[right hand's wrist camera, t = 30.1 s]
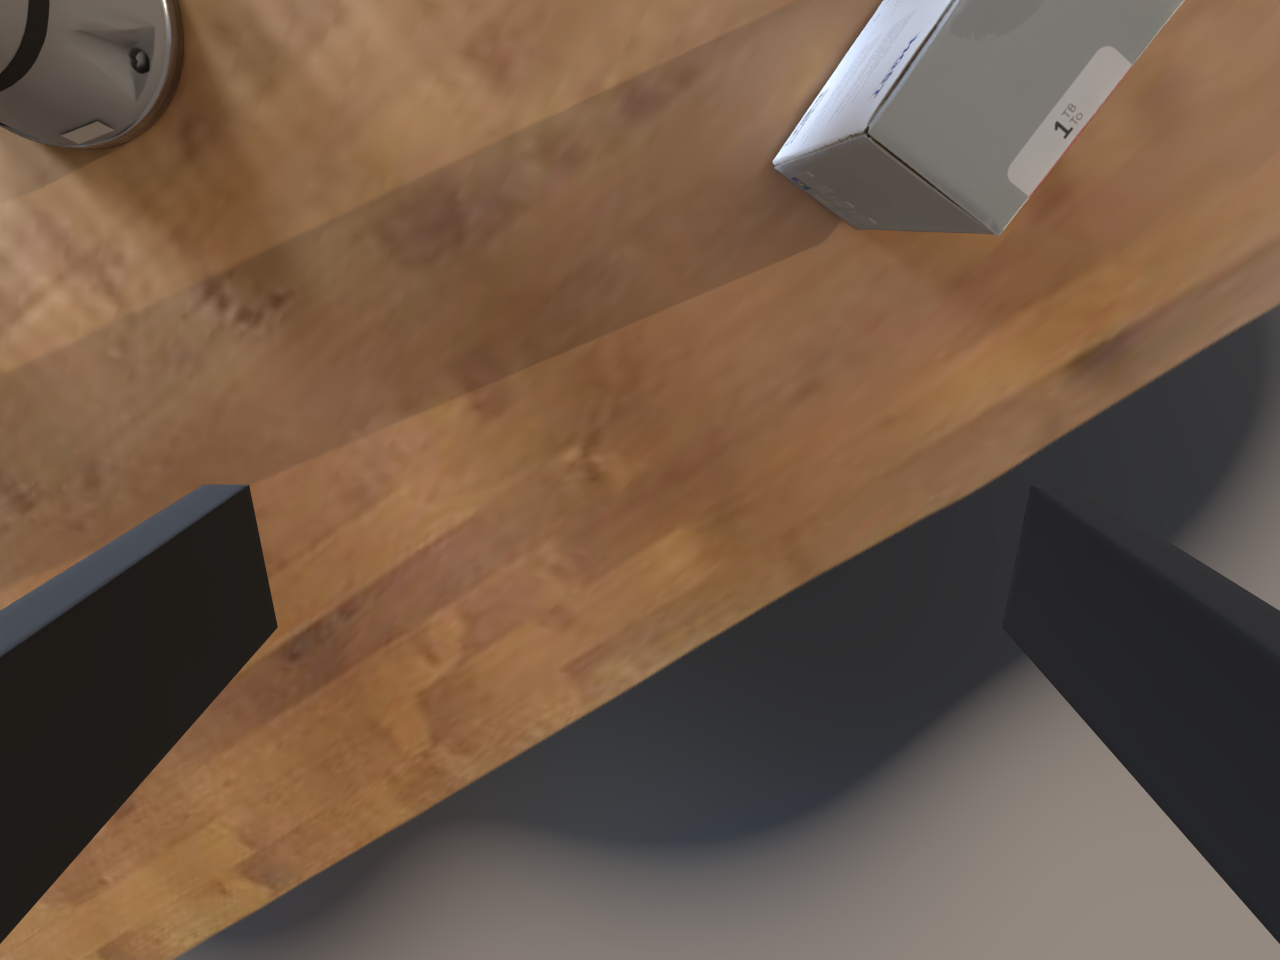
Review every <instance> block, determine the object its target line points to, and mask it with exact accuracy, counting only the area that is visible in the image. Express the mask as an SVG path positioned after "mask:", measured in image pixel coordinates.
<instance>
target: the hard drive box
mask: <svg viewBox="0 0 1280 960" xmlns="http://www.w3.org/2000/svg"><path fill="white" fill-rule="evenodd" d="M1184 1H1185V0H883V1H882V3H881V4H880V6H879V7H878V9H877V10H876V12H875V14H874V15H873V17H872V18H871V19H870V21H869V22H868V24H867V25H866V27H865V28H864V29H863V31H862V32H861V34H860V35H859V36H858V38H857V39H856V41H855V42H854V44H853V45H852V46H851V48H850V49H849V51H848V52H847V54H846V55H845V57H844V58H843V60H842V61H841V63H840V64H839V65H838V67H837V68H836V70H835V71H834V73H833V74H832V76H831V77H830V79H829V80H828V81H827V83H826V84H825V86H824V87H823V89H822V90H821V92H820V93H819V94H818V96H817V97H816V99H815V100H814V102H813V103H812V104H811V106H810V107H809V109H808V110H807V112H806V113H805V115H804V116H803V118H802V119H801V121H800V122H799V123H798V125H797V126H796V128H795V130H794V131H793V133H792V134H791V135H790V137H789V138H788V140H787V141H786V143H785V144H784V145H783V147H782V148H781V150H780V151H779V153H778V154H777V156H776V157H775V159H774V160H773V164H774V165H775V170H777V171H778V172H779V173H781V174H782V175H783V176H784V177H786V178H787V179H788V180H790V181H791V182H792V183H794V184H795V185H796V186H798V187H799V188H800V189H802V190H803V191H804V192H806V193H807V194H808V195H810V196H811V197H812V198H814V199H815V200H816V201H818V202H819V203H821V204H822V205H823V206H824V207H826V208H827V209H828V210H830V211H831V212H832V213H834V214H835V215H837V216H838V217H839V218H841V219H842V220H843V221H845V222H846V223H847V224H849V225H850V226H852V227H853V228H855V229H866V230H893V231H918V232H949V233H978V234H995V235H996V236H1000V235H1001V233H1002V232H1003V231H1004V229H1005V228H1006V227H1007V225H1008V224H1009V223H1010V222H1011V220H1012V219H1013V218H1014V216H1015V215H1016V214H1017V213H1018V211H1019V210H1020V209H1021V207H1022V206H1023V205H1024V204H1025V202H1026V201H1027V200H1028V199H1029V198H1030V197H1031V195H1032V194H1033V193H1034V192H1035V190H1036V189H1037V188H1038V187H1039V185H1040V184H1041V183H1042V182H1043V180H1044V179H1045V178H1046V176H1047V175H1048V174H1049V173H1050V171H1051V170H1052V169H1053V168H1054V166H1055V165H1056V164H1057V162H1058V161H1059V160H1060V158H1061V157H1062V156H1063V155H1064V153H1065V152H1066V151H1067V150H1068V148H1069V147H1070V146H1071V145H1072V144H1073V142H1074V141H1075V140H1076V138H1077V137H1078V136H1079V135H1080V133H1081V132H1082V131H1083V129H1084V128H1085V127H1086V125H1087V124H1088V123H1089V122H1090V120H1091V119H1092V118H1093V116H1094V115H1095V114H1096V113H1097V111H1098V110H1099V109H1100V107H1101V106H1102V105H1103V104H1104V102H1105V101H1106V100H1107V99H1108V97H1109V96H1110V95H1111V93H1112V92H1113V91H1114V90H1115V88H1116V87H1117V86H1118V85H1119V83H1120V82H1121V81H1122V79H1123V78H1124V77H1125V76H1126V74H1127V73H1128V72H1129V70H1130V69H1131V67H1132V66H1133V65H1134V63H1135V62H1136V60H1137V59H1138V58H1139V57H1140V55H1141V54H1142V53H1143V52H1144V50H1145V49H1146V48H1147V47H1148V45H1149V44H1150V43H1151V41H1152V40H1153V39H1154V38H1155V36H1156V35H1157V34H1158V33H1159V31H1160V30H1161V29H1162V28H1163V26H1164V25H1165V24H1166V23H1167V22H1168V20H1169V19H1170V18H1171V17H1172V15H1173V14H1174V13H1175V12H1176V10H1177V9H1178V8H1179V7H1180V6H1181V4H1182V3H1183V2H1184Z"/></svg>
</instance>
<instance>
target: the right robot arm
mask: <svg viewBox="0 0 1280 960" xmlns="http://www.w3.org/2000/svg"><path fill="white" fill-rule="evenodd" d="M183 53H184V35H183V24H182V18H181V11H180V7H179V3H178V0H0V126H1V127H3V128H5V129H7V130H8V131H10V132H12V133H14V134H17V135H19V136H21V137H24V138H26V139H29V140H32V141H35V142H39V143H43V144H47V145H53V146H61V147H69V148H78V149H101V148H108V147H113V146H116V145H120V144H123V143H125V142H128V141H130V140H132V139H134V138H136V137H137V136H139V135H141V134H142V133H144V132H145V131H146V130H147V129H149V128H150V127H151V126H152V125H153V124H154V123H155V122H156V121H157V120H158V119H159V118H160V116H161V115H162V114H163V112H164V111H165V110H166V108H167V106H168V105H169V103H170V101H171V100H172V97H173V95H174V93H175V90H176V88H177V85H178V81H179V78H180V74H181V69H182V63H183ZM276 629H277V622H276V617H275V612H274V607H273V602H272V597H271V592H270V587H269V582H268V577H267V572H266V567H265V562H264V557H263V552H262V547H261V542H260V537H259V532H258V527H257V522H256V517H255V512H254V507H253V502H252V497H251V492H250V487H249V485H202V486H201V487H199V488H197V489H196V490H194V491H193V492H191V493H189V494H188V495H186V496H185V497H183V498H181V499H180V500H178V501H177V502H175V503H173V504H172V505H170V506H168V507H167V508H165V509H164V510H162V511H160V512H159V513H157V514H156V515H154V516H152V517H151V518H149V519H148V520H146V521H144V522H143V523H141V524H139V525H138V526H136V527H135V528H133V529H131V530H130V531H128V532H127V533H125V534H123V535H122V536H120V537H119V538H117V539H115V540H114V541H112V542H110V543H109V544H107V545H106V546H104V547H102V548H101V549H99V550H98V551H96V552H94V553H93V554H91V555H90V556H88V557H86V558H85V559H83V560H81V561H80V562H78V563H77V564H75V565H73V566H72V567H70V568H69V569H67V570H65V571H64V572H62V573H61V574H59V575H57V576H56V577H54V578H52V579H51V580H49V581H48V582H46V583H44V584H43V585H41V586H40V587H38V588H36V589H35V590H33V591H32V592H30V593H28V594H27V595H25V596H24V597H22V598H20V599H19V600H17V601H15V602H14V603H12V604H11V605H9V606H7V607H6V608H4V609H3V610H1V611H0V944H1V942H2V941H3V940H4V939H5V938H6V937H7V936H8V934H9V933H10V932H11V931H12V930H13V929H14V928H15V926H16V925H17V924H18V923H19V922H20V921H21V920H22V918H23V917H24V916H25V915H26V914H27V913H28V912H29V910H30V909H31V908H32V907H33V906H34V905H35V904H36V902H37V901H38V900H39V899H40V898H41V897H42V896H43V894H44V893H45V892H46V891H47V890H48V889H49V888H50V886H51V885H52V884H53V883H54V882H55V881H56V880H57V878H58V877H59V876H60V875H61V874H62V873H63V872H64V870H65V869H66V868H67V867H68V866H69V865H70V864H71V863H72V861H73V860H74V859H75V858H76V857H77V856H78V855H79V853H80V852H81V851H82V850H83V849H84V848H85V847H86V845H87V844H88V843H89V842H90V841H91V840H92V839H93V837H94V836H95V835H96V834H97V833H98V832H99V831H100V829H101V828H102V827H103V826H104V825H105V824H106V823H107V821H108V820H109V819H110V818H111V817H112V816H113V815H114V813H115V812H116V811H117V810H118V809H119V808H120V807H121V805H122V804H123V803H124V802H125V801H126V800H127V799H128V797H129V796H130V795H131V794H132V793H133V792H134V791H135V789H136V788H137V787H138V786H139V785H140V784H141V783H142V781H143V780H144V779H145V778H146V777H147V776H148V775H149V773H150V772H151V771H152V770H153V769H154V768H155V767H156V766H157V764H158V763H159V762H160V761H161V760H162V759H163V758H164V756H165V755H166V754H167V753H168V752H169V751H170V750H171V748H172V747H173V746H174V745H175V744H176V743H177V742H178V740H179V739H180V738H181V737H182V736H183V735H184V734H185V732H186V731H187V730H188V729H189V728H190V727H191V726H192V724H193V723H194V722H195V721H196V720H197V719H198V718H199V716H200V715H201V714H202V713H203V712H204V711H205V710H206V708H207V707H208V706H209V705H210V704H211V703H212V702H213V700H214V699H215V698H216V697H217V696H218V695H219V694H220V692H221V691H222V690H223V689H224V688H225V687H226V686H227V684H228V683H229V682H230V681H231V680H232V679H233V678H234V676H235V675H236V674H237V673H238V672H239V671H240V670H241V668H242V667H243V666H244V665H245V664H246V663H247V662H248V661H249V659H250V658H251V657H252V656H253V655H254V654H255V653H256V651H257V650H258V649H259V648H260V647H261V646H262V645H263V643H264V642H265V641H266V640H267V639H268V638H269V637H270V635H271V634H272V633H273V632H274V631H275V630H276ZM1003 629H1004V630H1005V631H1006V632H1007V633H1008V634H1009V635H1010V637H1011V638H1012V639H1013V640H1014V641H1015V642H1016V643H1017V645H1018V646H1019V647H1020V648H1021V649H1022V650H1023V651H1024V653H1025V654H1026V655H1027V656H1028V657H1029V658H1030V659H1031V660H1032V662H1033V663H1034V664H1035V665H1036V666H1037V667H1038V668H1039V670H1040V671H1041V672H1042V673H1043V674H1044V675H1045V676H1046V678H1047V679H1048V680H1049V681H1050V682H1051V683H1052V684H1053V686H1054V687H1055V688H1056V689H1057V690H1058V691H1059V692H1060V694H1061V695H1062V696H1063V697H1064V698H1065V699H1066V700H1067V702H1068V703H1069V704H1070V705H1071V706H1072V707H1073V708H1074V710H1075V711H1076V712H1077V713H1078V714H1079V715H1080V716H1081V718H1082V719H1083V720H1084V721H1085V722H1086V723H1087V724H1088V726H1089V727H1090V728H1091V729H1092V730H1093V731H1094V732H1095V733H1096V735H1097V736H1098V737H1099V738H1100V739H1101V740H1102V742H1103V743H1104V744H1105V745H1106V746H1107V747H1108V748H1109V750H1110V751H1111V752H1112V753H1113V754H1114V755H1115V756H1116V758H1117V759H1118V760H1119V761H1120V762H1121V763H1122V764H1123V766H1124V767H1125V768H1126V769H1127V770H1128V771H1129V772H1130V773H1131V775H1132V776H1133V777H1134V778H1135V779H1136V780H1137V781H1138V783H1139V784H1140V785H1141V786H1142V787H1143V788H1144V789H1145V791H1146V792H1147V793H1148V794H1149V795H1150V796H1151V797H1152V799H1153V800H1154V801H1155V802H1156V803H1157V804H1158V805H1159V807H1160V808H1161V809H1162V810H1163V811H1164V812H1165V813H1166V815H1167V816H1168V817H1169V818H1170V819H1171V820H1172V821H1173V823H1174V824H1175V825H1176V826H1177V827H1178V828H1179V829H1180V831H1181V832H1182V833H1183V834H1184V835H1185V836H1186V837H1187V839H1188V840H1189V841H1190V842H1191V843H1192V844H1193V845H1194V847H1195V848H1196V849H1197V850H1198V851H1199V852H1200V853H1201V854H1202V856H1203V857H1204V858H1205V859H1206V860H1207V861H1208V863H1209V864H1210V865H1211V866H1212V867H1213V868H1214V869H1215V870H1216V872H1217V873H1218V874H1219V875H1220V876H1221V877H1222V878H1223V880H1224V881H1225V882H1226V883H1227V884H1228V885H1229V886H1230V888H1231V889H1232V890H1233V891H1234V892H1235V893H1236V894H1237V896H1238V897H1239V898H1240V899H1241V900H1242V901H1243V902H1244V904H1245V905H1246V906H1247V907H1248V908H1249V909H1250V910H1251V912H1252V913H1253V914H1254V915H1255V916H1256V917H1257V918H1258V920H1259V921H1260V922H1261V923H1262V924H1263V925H1264V926H1265V928H1266V929H1267V930H1268V931H1269V932H1270V933H1271V934H1272V936H1273V937H1274V938H1275V939H1276V940H1277V941H1278V942H1279V943H1280V611H1279V610H1277V609H1276V608H1274V607H1273V606H1271V605H1269V604H1268V603H1266V602H1265V601H1263V600H1261V599H1260V598H1258V597H1256V596H1255V595H1253V594H1252V593H1250V592H1248V591H1247V590H1245V589H1244V588H1242V587H1240V586H1239V585H1237V584H1236V583H1234V582H1232V581H1231V580H1229V579H1228V578H1226V577H1224V576H1223V575H1221V574H1219V573H1218V572H1216V571H1215V570H1213V569H1211V568H1210V567H1208V566H1207V565H1205V564H1203V563H1202V562H1200V561H1199V560H1197V559H1195V558H1194V557H1192V556H1190V555H1189V554H1187V553H1186V552H1184V551H1182V550H1181V549H1179V548H1178V547H1176V546H1174V545H1173V544H1171V543H1170V542H1168V541H1166V540H1165V539H1163V538H1161V537H1160V536H1158V535H1157V534H1155V533H1153V532H1152V531H1150V530H1149V529H1147V528H1145V527H1144V526H1142V525H1141V524H1139V523H1137V522H1136V521H1134V520H1132V519H1131V518H1129V517H1128V516H1126V515H1124V514H1123V513H1121V512H1120V511H1118V510H1116V509H1115V508H1113V507H1111V506H1110V505H1108V504H1107V503H1105V502H1103V501H1102V500H1100V499H1099V498H1097V497H1095V496H1094V495H1092V494H1091V493H1089V492H1087V491H1086V490H1084V489H1083V488H1081V487H1079V486H1078V485H1031V487H1030V492H1029V497H1028V502H1027V507H1026V512H1025V517H1024V523H1023V527H1022V532H1021V537H1020V542H1019V547H1018V552H1017V557H1016V562H1015V567H1014V572H1013V577H1012V582H1011V587H1010V592H1009V597H1008V602H1007V607H1006V612H1005V617H1004V622H1003Z"/></svg>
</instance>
